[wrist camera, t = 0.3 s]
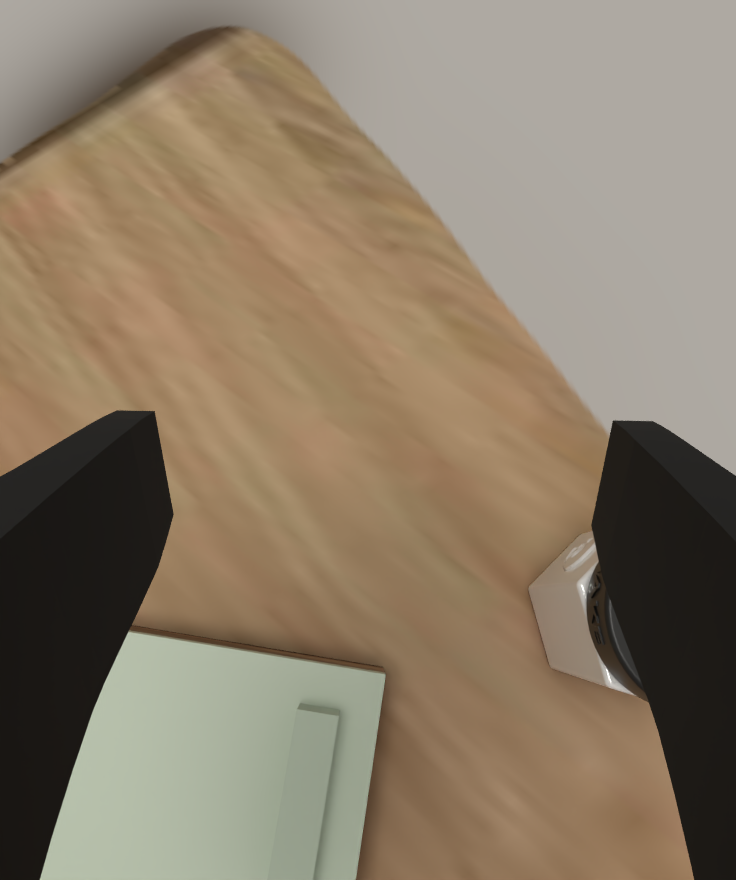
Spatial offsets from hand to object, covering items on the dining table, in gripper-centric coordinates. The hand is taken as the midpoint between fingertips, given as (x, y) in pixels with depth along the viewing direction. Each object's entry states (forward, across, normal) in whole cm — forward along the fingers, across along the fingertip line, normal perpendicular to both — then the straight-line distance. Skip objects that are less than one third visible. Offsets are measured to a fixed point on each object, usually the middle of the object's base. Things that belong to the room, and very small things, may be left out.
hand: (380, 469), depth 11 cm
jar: (+21, -12, +23) cm, 33 cm away
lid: (+12, +10, +26) cm, 30 cm away
